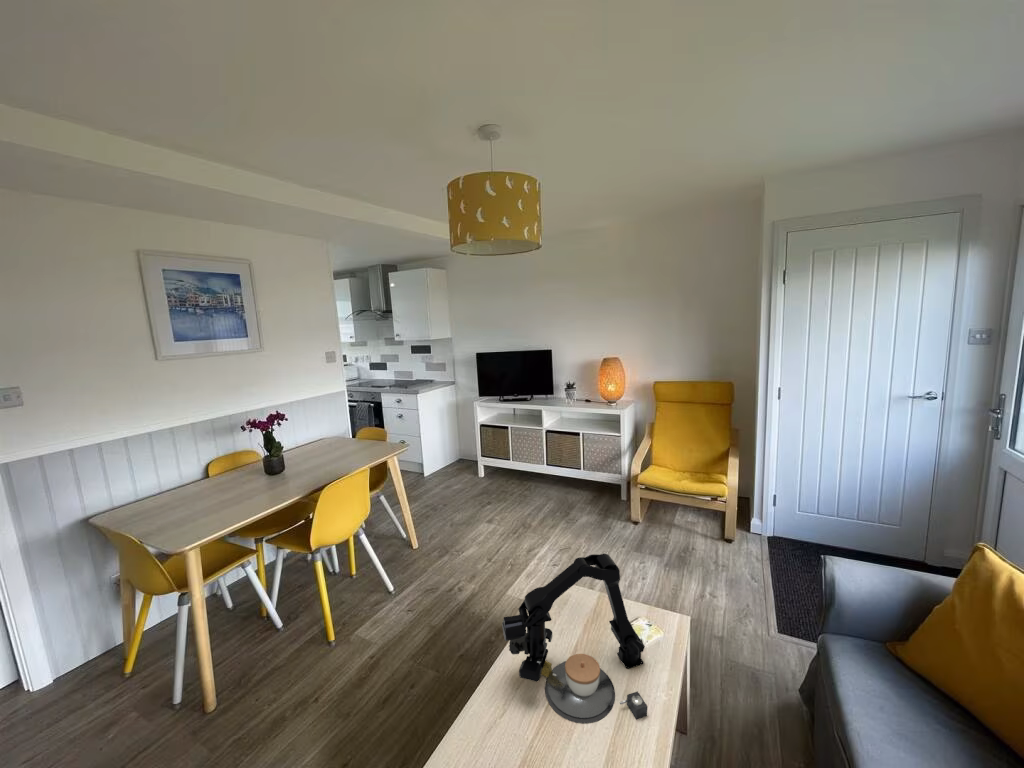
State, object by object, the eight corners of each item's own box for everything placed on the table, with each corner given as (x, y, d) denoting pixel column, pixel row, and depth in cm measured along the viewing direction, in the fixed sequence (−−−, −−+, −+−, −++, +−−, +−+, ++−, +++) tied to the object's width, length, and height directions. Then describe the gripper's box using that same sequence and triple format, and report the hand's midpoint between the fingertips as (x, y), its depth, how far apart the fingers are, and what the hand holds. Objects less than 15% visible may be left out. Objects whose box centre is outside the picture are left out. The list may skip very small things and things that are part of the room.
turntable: (620, 676, 137) (620, 667, 136) (600, 731, 120) (600, 721, 119) (549, 647, 149) (549, 639, 148) (521, 693, 132) (521, 684, 131)
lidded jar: (571, 707, 127) (571, 679, 125) (561, 678, 137) (560, 652, 136) (605, 700, 129) (605, 672, 127) (592, 671, 139) (592, 646, 138)
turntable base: (594, 653, 146) (594, 653, 146) (628, 710, 126) (628, 709, 126) (535, 671, 140) (535, 670, 140) (561, 733, 120) (561, 732, 120)
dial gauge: (637, 701, 129) (637, 690, 128) (647, 716, 124) (647, 705, 123) (618, 707, 127) (618, 696, 126) (627, 722, 122) (627, 712, 122)
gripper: (520, 607, 145) (521, 646, 148) (501, 649, 128) (504, 693, 131) (552, 613, 142) (553, 654, 145) (537, 658, 124) (539, 703, 127)
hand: (537, 674), depth 137 cm, fingers closed
